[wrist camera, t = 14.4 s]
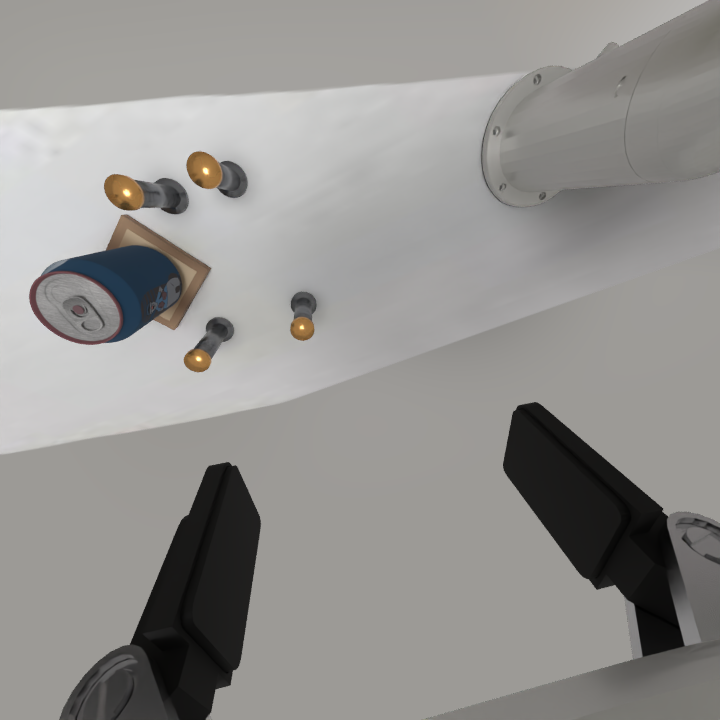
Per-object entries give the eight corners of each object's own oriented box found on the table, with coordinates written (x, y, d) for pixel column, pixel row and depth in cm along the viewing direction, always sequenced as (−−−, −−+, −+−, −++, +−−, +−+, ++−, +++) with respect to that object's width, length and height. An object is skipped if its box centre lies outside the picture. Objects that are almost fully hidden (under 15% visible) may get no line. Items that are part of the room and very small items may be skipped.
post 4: (300, 286, 36) (297, 308, 28) (321, 301, 38) (324, 326, 30) (286, 306, 37) (280, 333, 29) (307, 320, 38) (306, 349, 31)
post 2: (223, 153, 29) (192, 133, 21) (253, 177, 30) (233, 167, 22) (208, 182, 30) (173, 173, 22) (237, 204, 31) (214, 203, 23)
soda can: (100, 255, 30) (-9, 279, 20) (163, 235, 30) (87, 249, 20) (142, 314, 34) (67, 362, 23) (198, 296, 34) (149, 336, 23)
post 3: (214, 312, 36) (188, 341, 28) (238, 326, 37) (219, 358, 29) (202, 332, 37) (173, 365, 29) (226, 344, 38) (204, 380, 30)
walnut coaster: (127, 214, 30) (120, 215, 29) (211, 268, 34) (208, 270, 33) (95, 284, 33) (89, 286, 32) (177, 327, 36) (173, 330, 35)
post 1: (161, 170, 29) (107, 157, 21) (193, 194, 30) (153, 189, 22) (148, 199, 30) (91, 196, 22) (180, 220, 31) (136, 225, 23)
